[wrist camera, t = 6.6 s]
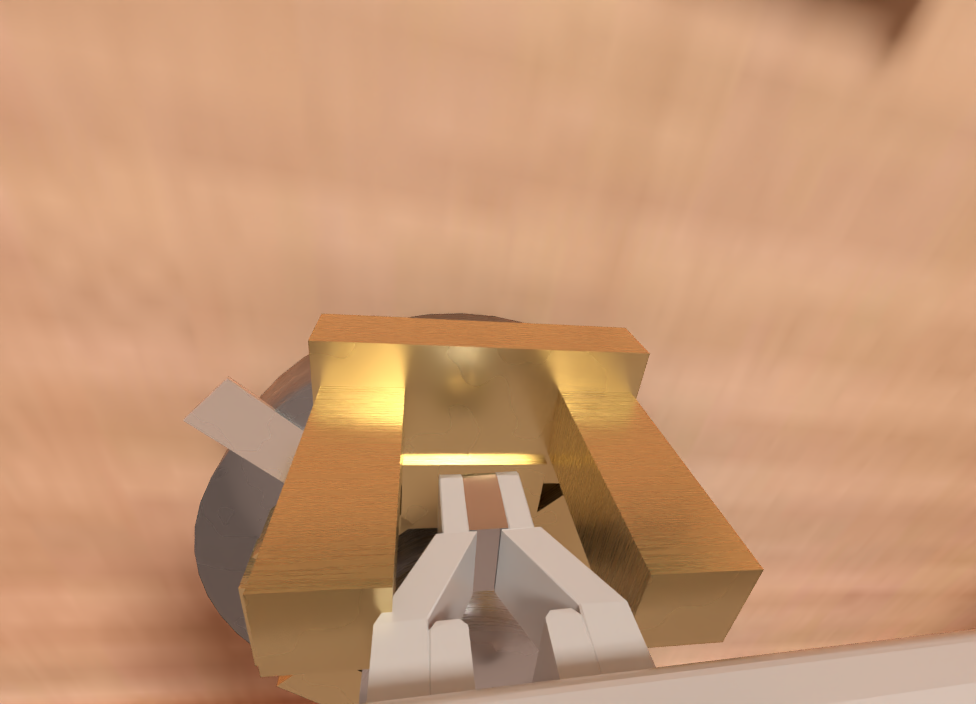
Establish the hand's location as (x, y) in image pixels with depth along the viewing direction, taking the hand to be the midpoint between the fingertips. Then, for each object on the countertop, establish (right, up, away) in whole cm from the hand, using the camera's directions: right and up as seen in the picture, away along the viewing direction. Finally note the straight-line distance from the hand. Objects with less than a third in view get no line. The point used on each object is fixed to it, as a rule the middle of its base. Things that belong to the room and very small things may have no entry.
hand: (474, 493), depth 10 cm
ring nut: (-1, -3, +6) cm, 7 cm away
